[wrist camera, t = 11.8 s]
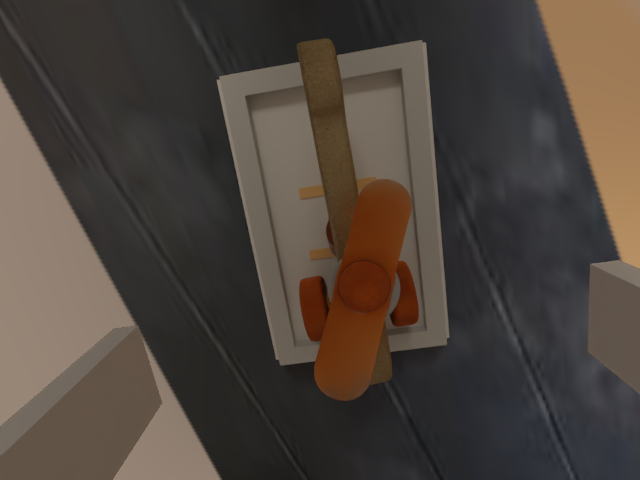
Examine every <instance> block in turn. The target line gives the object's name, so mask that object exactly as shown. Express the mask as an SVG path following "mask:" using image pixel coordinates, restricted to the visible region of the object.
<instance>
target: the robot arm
mask: <svg viewBox="0 0 640 480" xmlns="http://www.w3.org/2000/svg"><path fill="white" fill-rule="evenodd" d="M588 352H589V353H590V354H591V355H592V356H594V357H595V358H596V359H597V360H599V361H600V362H601V363H602V364H603V365H605V366H606V367H607V368H608V369H610V370H611V371H612V372H613V373H614V374H616V375H617V376H618V377H619V378H621V379H622V380H623V381H624V382H625V383H627V384H628V385H629V386H630V387H632V388H633V389H634V390H635V391H637V392H638V393H639V394H640V269H639V268H637V267H634V266H632V265H629V264H627V263H625V262H622V261H620V260H617V261H610V262H602V263H595V264H590V289H589V326H588ZM161 404H162V401H161V398H160V395H159V391H158V389H157V386H156V382H155V379H154V375H153V372H152V369H151V366H150V363H149V360H148V356H147V353H146V350H145V347H144V343H143V340H142V337H141V334H140V331H139V327H138V325H137V326H131V327H123V328H116V329H113V330H112V331H110V332H109V333H108V334H107V335H106V336H105V337H104V338H102V339H101V340H100V341H99V342H98V343H97V344H95V345H94V346H93V347H92V348H91V349H90V350H88V351H87V352H86V353H85V354H84V355H83V356H81V357H80V358H79V359H78V360H77V361H76V362H74V363H73V364H72V365H71V366H70V367H69V368H67V369H66V370H65V371H64V372H63V373H62V374H61V375H59V376H58V377H57V378H56V379H55V380H54V381H52V382H51V383H50V384H49V385H48V386H47V387H45V388H44V389H43V390H42V391H41V392H40V393H39V394H37V395H36V396H35V397H34V398H33V399H32V400H30V401H29V402H28V403H27V404H26V405H24V407H22V408H21V409H20V410H19V411H18V412H16V413H15V414H14V415H13V416H12V417H11V418H9V419H8V420H7V421H6V422H5V423H4V424H3V425H1V426H0V480H113V478H114V477H115V475H116V474H117V472H118V470H119V469H120V467H121V466H122V464H123V463H124V461H125V459H126V458H127V456H128V455H129V453H130V452H131V450H132V449H133V447H134V446H135V444H136V443H137V441H138V439H139V438H140V436H141V435H142V433H143V432H144V430H145V428H146V427H147V426H148V424H149V422H150V421H151V419H152V418H153V416H154V415H155V413H156V412H157V410H158V408H159V407H160V405H161Z"/></svg>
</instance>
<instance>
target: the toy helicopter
mask: <svg viewBox="0 0 640 480" xmlns="http://www.w3.org/2000/svg"><path fill="white" fill-rule="evenodd" d="M297 52H298V58H299V63H300V68H301V74H302V79H303V85H304V90H305V95H306V101H307V106H308V112H309V117H310V122H311V127H312V132H313V138H314V143H315V148H316V154H317V159H318V164H319V169H320V175H321V180H322V185H323V190H324V196H325V201H326V206H327V211H328V218H329V220H328V223H327V226H326V235H327V239H328V244H329V247H330V250H331V252H332V253H333V254H334V255H335V257H336V258H337V264H336V265H335V266H334V268H333V269H332V271H331V273H330V276H329V279H328V285H327V286H326V283H325V280H324V278H323V277H322V276H315V277H309V278H305V279H302V280H301V281H300V285H299V298H300V306H301V313H302V318H303V322H304V326H305V329H306V332H307V335H308V337H309V339H310V340H311V341H313V342H317V341H321V343H320V347H319V350H318V354H317V357H316V361H315V366H314V376H315V381H316V383H317V385H318V387H319V388H320V390H321V391H322V392H323V393H324V394H325V395H327V396H329V397H331V398H333V399H337V400H341V401H349V400H353V399H356V398H358V397H359V396H361V395H362V394H363V393H364V392H365V391H366V390H367V389H368V387H369V385H373V384H377V383H382V382H386V381H389V380H390V379H391V377H392V361H391V353H390V346H389V340H388V333H387V327H386V322H385V318H386V317H388V316H390V319H391V322H392V324H393V325H394V326H396V327H402V326H407V325H413V324H415V323H417V321H418V318H419V306H418V300H417V294H416V289H415V285H414V281H413V277H412V274H411V272H410V269H409V267H408V265H407V263H406V262H404V261H399V257H400V253H401V249H402V245H403V241H404V237H405V233H406V229H407V225H408V221H409V217H410V214H411V210H412V201H411V197H410V194H409V193H408V191H407V189H406V188H405V187H404V186H403V185H401V184H400V183H398V182H396V181H394V180H390V179H378V180H375V181H372V182H370V183H369V184H367V185H366V186H365V187H363V189H362V190H361V192H360V194H359V193H358V187H357V181H356V175H355V169H354V163H353V158H352V152H351V146H350V141H349V135H348V129H347V123H346V115H345V106H344V96H343V88H342V81H341V75H340V69H339V64H338V59H337V54H336V50H335V47H334V44H333V42H332V41H331V40H330V39H318V40H312V41H305V42H300V43H298V44H297Z"/></svg>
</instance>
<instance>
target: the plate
mask: <svg viewBox="0 0 640 480" xmlns="http://www.w3.org/2000/svg"><path fill="white" fill-rule="evenodd" d="M337 59H338V64H339V69H340V75H341V81H342V88H343V96H344V106H345V115H346V123H347V129H348V135H349V141H350V146H351V152H352V158H353V163H354V169H355V175H356V181H357V187H358V193H359V194H360V192H361V190H362V189H363V187H365V186H366V185H367V184H369V183H370V182H372V181H375V180H378V179H390V180H394V181H396V182H398V183H400V184H401V185H403V186H404V187H405V188H406V189H407V191H408V193H409V194H410V197H411V201H412V210H411V214H410V217H409V221H408V225H407V229H406V233H405V237H404V241H403V245H402V249H401V253H400V257H399V261H404V262H406V263H407V265H408V267H409V269H410V272H411V274H412V277H413V281H414V285H415V289H416V294H417V300H418V306H419V318H418V321H417V323H415V324H413V325H407V326H402V327H396V326H394V325H393V324H392V322H391V319H390V316H388V317H386V318H385V322H386V327H387V333H388V340H389V346H390V352H393V351H401V350H409V349H417V348H425V347H433V346H442V345H447V338H449V326H448V313H447V301H446V288H445V276H444V263H443V251H442V238H441V225H440V213H439V200H438V188H437V175H436V163H435V150H434V138H433V125H432V113H431V100H430V88H429V75H428V62H427V50H426V43H422V40H419V41H413V42H408V43H402V44H397V45H391V46H385V47H380V48H374V49H369V50H363V51H358V52H352V53H347V54H341V55H337ZM219 78H220V80H217V84H218V89H219V94H220V98H221V103H222V108H223V112H224V117H225V122H226V127H227V131H228V136H229V141H230V145H231V150H232V155H233V159H234V164H235V169H236V174H237V178H238V183H239V188H240V192H241V197H242V202H243V206H244V211H245V216H246V220H247V225H248V230H249V235H250V239H251V244H252V249H253V253H254V258H255V263H256V267H257V272H258V277H259V281H260V286H261V291H262V296H263V300H264V305H265V310H266V314H267V319H268V324H269V328H270V333H271V338H272V343H273V347H274V352H275V357H276V360H278V359H279V362H280V366H281V365H289V364H297V363H305V362H313V361H316V357H317V354H318V350H319V347H320V343H321V341H317V342H313V341H311V340H310V339H309V337H308V335H307V332H306V329H305V326H304V322H303V318H302V313H301V306H300V298H299V285H300V281H301V280H302V279H305V278H309V277H315V276H322V277H323V278H324V280H325V283H326V286H327V285H328V279H329V276H330V273H331V271H332V269H333V268H334V266H335V265H336V264H337V258H336V257H335V255H334V254H333V253H332V252H331V250H330V247H329V244H328V239H327V235H326V226H327V223H328V220H329V218H328V211H327V206H326V201H325V196H324V190H323V185H322V180H321V175H320V169H319V164H318V159H317V154H316V148H315V143H314V138H313V132H312V127H311V122H310V117H309V112H308V106H307V101H306V95H305V90H304V85H303V79H302V74H301V68H300V63H299V62H297V63H291V64H286V65H280V66H275V67H269V68H264V69H258V70H253V71H247V72H242V73H236V74H230V75H225V76H219Z"/></svg>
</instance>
